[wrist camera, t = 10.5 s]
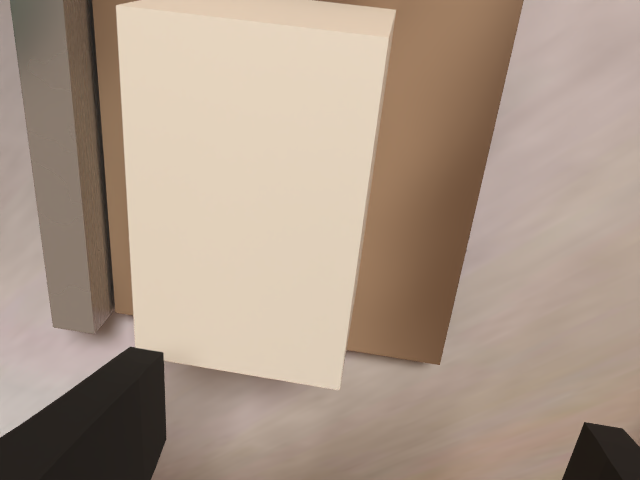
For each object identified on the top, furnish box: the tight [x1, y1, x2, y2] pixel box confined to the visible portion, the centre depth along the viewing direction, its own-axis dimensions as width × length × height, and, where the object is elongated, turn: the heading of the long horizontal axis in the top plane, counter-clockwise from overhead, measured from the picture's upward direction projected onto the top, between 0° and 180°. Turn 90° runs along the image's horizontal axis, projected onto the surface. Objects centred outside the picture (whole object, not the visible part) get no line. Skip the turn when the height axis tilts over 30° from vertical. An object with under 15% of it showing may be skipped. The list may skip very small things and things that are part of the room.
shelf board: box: [92, 0, 524, 365], centre depth 18 cm, size 11×13×1 cm
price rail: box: [10, 0, 115, 334], centre depth 17 cm, size 2×13×2 cm, turn 175°
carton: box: [116, 0, 396, 390], centre depth 15 cm, size 8×5×5 cm, turn 175°
